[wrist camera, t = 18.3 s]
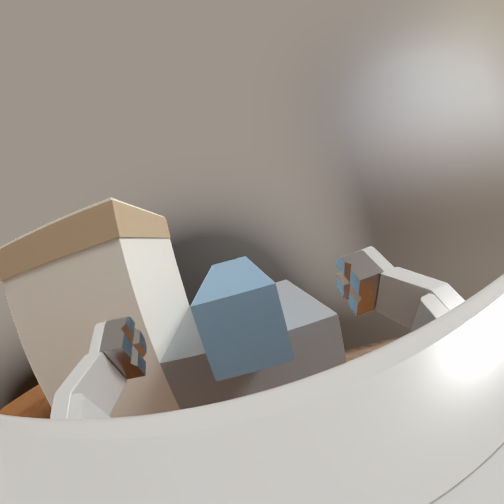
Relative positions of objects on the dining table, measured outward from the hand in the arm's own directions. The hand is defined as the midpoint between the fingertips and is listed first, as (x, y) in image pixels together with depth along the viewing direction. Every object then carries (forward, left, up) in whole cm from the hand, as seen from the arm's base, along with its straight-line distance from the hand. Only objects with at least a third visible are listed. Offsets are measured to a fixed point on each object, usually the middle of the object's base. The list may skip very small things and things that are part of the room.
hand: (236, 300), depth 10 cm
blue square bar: (-5, +11, -4) cm, 13 cm away
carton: (-17, +8, -19) cm, 27 cm away
